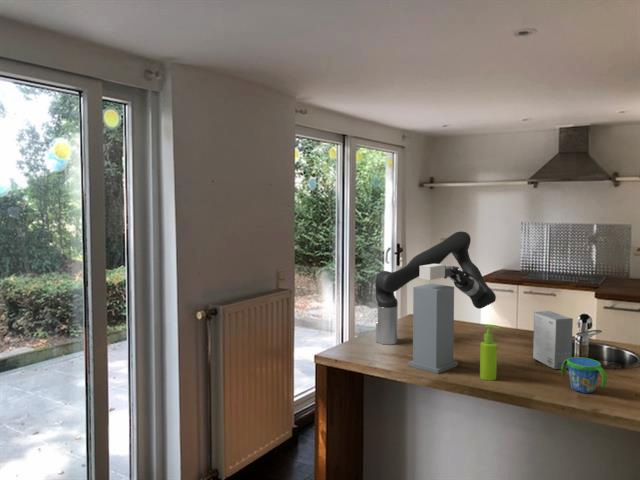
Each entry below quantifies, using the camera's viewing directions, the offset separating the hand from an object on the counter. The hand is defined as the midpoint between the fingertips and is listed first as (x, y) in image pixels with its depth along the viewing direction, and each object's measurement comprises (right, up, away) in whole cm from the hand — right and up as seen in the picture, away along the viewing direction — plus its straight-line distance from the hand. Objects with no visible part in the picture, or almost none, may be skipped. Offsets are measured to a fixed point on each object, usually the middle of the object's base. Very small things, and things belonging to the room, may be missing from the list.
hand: (447, 267), depth 213 cm
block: (-4, -3, -3) cm, 6 cm away
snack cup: (+40, -41, -31) cm, 65 cm away
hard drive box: (+42, -39, -2) cm, 57 cm away
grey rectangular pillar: (-7, -39, -3) cm, 40 cm away
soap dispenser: (+11, -40, -18) cm, 46 cm away
